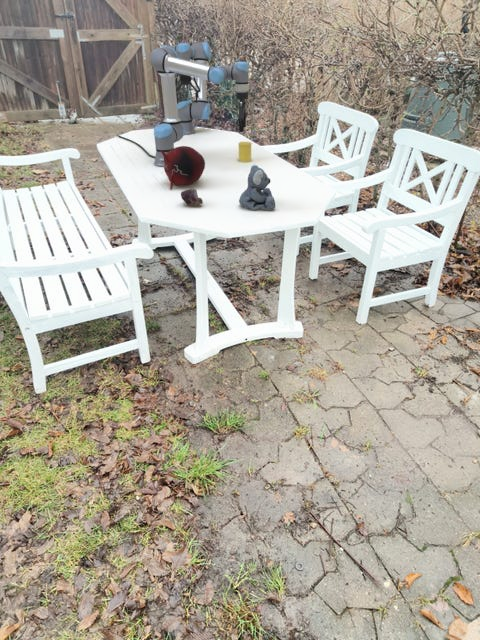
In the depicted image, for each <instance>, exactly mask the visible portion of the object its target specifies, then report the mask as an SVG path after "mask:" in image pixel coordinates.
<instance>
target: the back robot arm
mask: <svg viewBox="0 0 480 640" xmlns="http://www.w3.org/2000/svg"><path fill="white" fill-rule="evenodd" d="M162 47H170V48H172V49H174V50H175V51H176V53H177V55H178V58H180V59H184V60H188V61H191V60H192V61H193V62H197V63H201V64H205V65H208V64H209V63H210V62H209V61H211V60H212V49H211V46H210V44H209V42H205V41H188V42H180V43H178V44H177V45H176V44H175V45H162V46H161V48H162ZM179 81H180V83H179V85H178V86H177V84H178V82H179ZM192 82H194V84H193V83H192ZM188 85H190V86H191V87H192V89H193V90H194V91H195V95H194V96H195V97H194V99H193V102H191V100H183V101H179V95H178V92H179V90H180V88H181V87H182V86H188ZM194 85H195V86H194ZM175 86H176V97H177V108H178V117H179V118H180V119H181V124H182V125H183V127H184V135H192V134H194V133H195V132H196V130H195V127H196V123H194V124H193V120H208V119H209V117H210V115H211V104H210V103H209V100H208V99H207V80H205V79H201V78H196V77H192V76H188V75H184V74H180V73H179V77H177V76H175Z"/></svg>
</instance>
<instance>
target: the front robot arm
mask: <svg viewBox="0 0 480 640" xmlns="http://www.w3.org/2000/svg"><path fill="white" fill-rule="evenodd" d="M149 63H150V65H151V67H152V68H153V69H154V70H155V71H157V74H158V75H159V76H160V82H161V93H162V101H163V112H164V119H163V120H162V123H160V124H157V125H155V126H154V128H153V135H154V145H155V155H151V154H150V152H148V151H147V150H146V149H145V148H144V147H143V146H142V145H140V144H139V143H138V142H136V141H134V140H131V139H130V138H127V137H124V136H121V135H118V134H116V137H118V138H121V139H123V140H126V141H129V142H131V143H133V144H134V145H137V146H138V147H139V148H141V149H142V151H143V152H145V154H146V155H148V156H149V157H151V158H153V159H154V165H155V166H157V167H163V168H164V156H163V154H162V153H161V150H162V151H163V152H164V153H165V154H167V153H168V152H169V151H171V150H172V149H174V148H175V143H177V142H179V141H181V140H182V139H183V138H184V135H185V134H184V127H183V125H182V124H181V119H180V118H179V117H178V108H177V97H176V89H177V85H176V86H175V81H176V74H179V75H180V74H184V75H188V76H191V78H193V77H195V79H196V78H201V79H205V80H206V81H208V82H211V83H212V84H216V85H217V84H221V83H223V82H226V81H235V99H236V100H239V102H238V118H237V121H238V132H239V133H244V132H245V128H246V127H247V118H246V117H247V115H248V114H247V111H246V110H247V109H246V106H247V105H246V104H247V101H246V100H248V99H249V88H250V85H249V63H248V62H246V61H236V62H235V64H234V65H223V64H221V65H216V66H214V65H213V66H212V65H208V64H207V65H205V64H201V63H197V62H194V61H193V60H192V61H191V60H190V61H188V60H184V59H180V58H178V55H177V53H176V51H175V50H174V49H172V48H170V47H162V46H161V47H156V48H155V49H152V51H151V52H150V54H149Z"/></svg>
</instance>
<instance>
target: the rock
mask: <svg viewBox="0 0 480 640" xmlns="http://www.w3.org/2000/svg"><path fill="white" fill-rule="evenodd" d="M180 197H181V200H182V201H183V202H184V203H185V205H187V206H189V207H191V206H192V207H193V206H201V205H203V204H204V202H203V199H202V197H199V195H198V190H197V189H196V188H188V189H185V190H181V192H180Z"/></svg>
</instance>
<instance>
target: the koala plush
mask: <svg viewBox="0 0 480 640" xmlns="http://www.w3.org/2000/svg"><path fill="white" fill-rule="evenodd" d="M270 183H271V178H269V176H268V175H267V173H266V172H265V170H264V169H263V168H261V167H259V165H257V164H253V165H250V170H249V173H248V176H247V188H246V189H245V190H244V191H243V192H242V193H241V194H240V197H239V199H238V203H239V204H240V206H241V207H242V208H246V209H247V210H252V211H255V210H261V211H272V210H274V209H275V208H276V200H275V198H274V196H273V194H272V191H271V188H270V187H268V186H269V185H270Z"/></svg>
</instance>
